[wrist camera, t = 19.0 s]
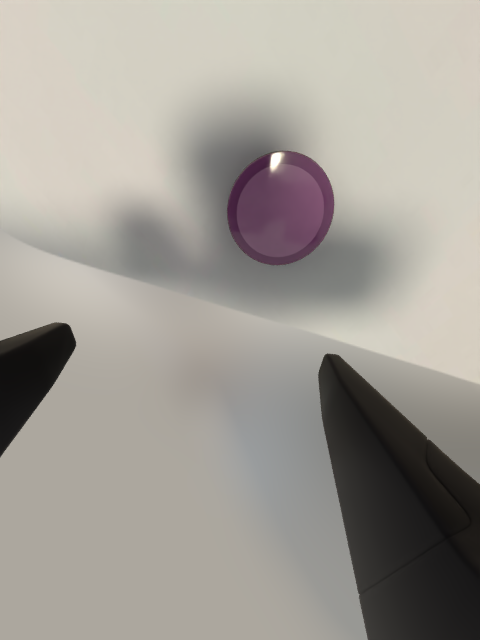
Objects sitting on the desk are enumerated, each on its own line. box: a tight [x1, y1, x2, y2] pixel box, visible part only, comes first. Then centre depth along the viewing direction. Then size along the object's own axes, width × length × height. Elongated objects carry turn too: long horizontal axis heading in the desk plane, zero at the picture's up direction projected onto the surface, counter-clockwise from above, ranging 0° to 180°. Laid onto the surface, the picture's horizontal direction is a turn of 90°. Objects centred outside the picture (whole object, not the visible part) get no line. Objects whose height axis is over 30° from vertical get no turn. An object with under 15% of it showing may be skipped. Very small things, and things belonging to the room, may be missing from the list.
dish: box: [227, 151, 334, 265], centre depth 16 cm, size 6×6×2 cm
